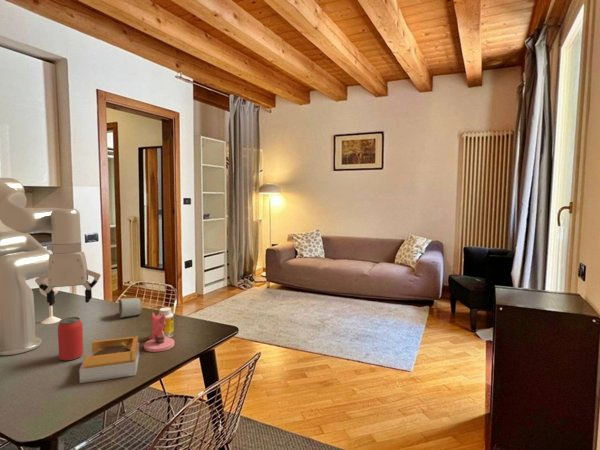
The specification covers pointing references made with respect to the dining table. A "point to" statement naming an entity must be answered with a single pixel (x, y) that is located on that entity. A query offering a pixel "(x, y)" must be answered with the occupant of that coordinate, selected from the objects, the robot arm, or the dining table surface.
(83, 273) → the robot arm
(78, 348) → the beer can
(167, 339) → the toy figure
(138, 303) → the ceramic mug
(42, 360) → the dining table surface
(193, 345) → the dining table surface
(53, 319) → the champagne flute
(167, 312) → the supplement bottle
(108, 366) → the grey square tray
